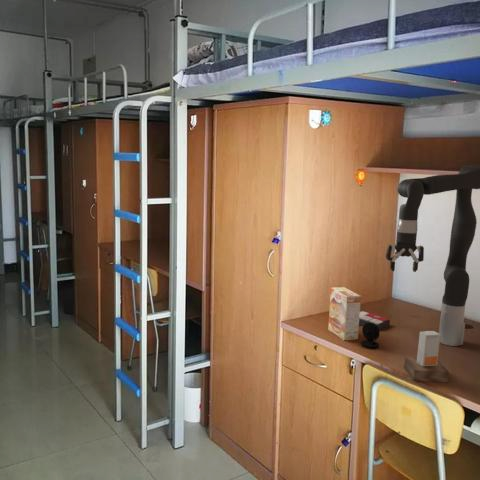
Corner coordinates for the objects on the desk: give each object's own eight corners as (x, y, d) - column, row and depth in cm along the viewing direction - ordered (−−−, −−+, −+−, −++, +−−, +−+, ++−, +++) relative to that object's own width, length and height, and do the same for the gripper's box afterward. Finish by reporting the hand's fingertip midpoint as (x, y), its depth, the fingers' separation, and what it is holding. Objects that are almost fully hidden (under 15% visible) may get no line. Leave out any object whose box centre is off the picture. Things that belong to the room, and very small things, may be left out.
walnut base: (435, 368, 205) (437, 358, 205) (447, 382, 194) (448, 371, 193) (403, 367, 206) (404, 357, 205) (413, 380, 194) (414, 370, 193)
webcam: (382, 346, 227) (384, 323, 225) (372, 350, 222) (374, 327, 220) (366, 341, 233) (368, 318, 231) (356, 345, 228) (358, 322, 226)
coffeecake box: (327, 329, 246) (330, 287, 243) (341, 328, 248) (344, 286, 245) (343, 340, 232) (346, 296, 229) (358, 339, 234) (361, 295, 231)
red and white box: (378, 323, 246) (350, 314, 256) (377, 332, 247) (349, 322, 257) (390, 318, 254) (362, 309, 264) (389, 327, 255) (361, 318, 265)
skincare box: (422, 367, 196) (425, 335, 194) (416, 362, 200) (419, 331, 198) (437, 366, 198) (440, 334, 196) (430, 361, 202) (433, 330, 200)
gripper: (422, 230, 219) (418, 269, 221) (386, 228, 219) (383, 268, 221) (428, 233, 211) (424, 274, 214) (391, 231, 211) (387, 272, 214)
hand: (403, 271), depth 218 cm, fingers open, 8 cm apart
